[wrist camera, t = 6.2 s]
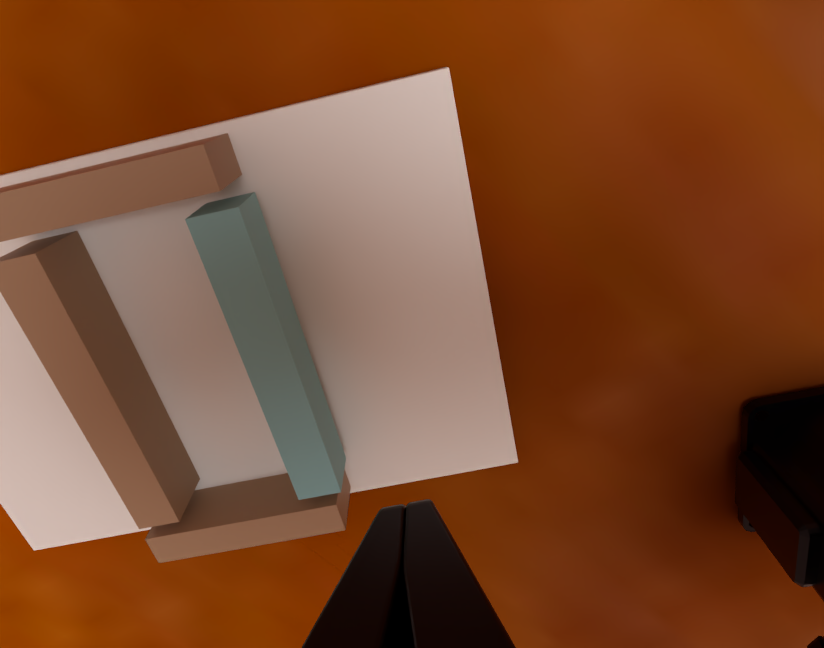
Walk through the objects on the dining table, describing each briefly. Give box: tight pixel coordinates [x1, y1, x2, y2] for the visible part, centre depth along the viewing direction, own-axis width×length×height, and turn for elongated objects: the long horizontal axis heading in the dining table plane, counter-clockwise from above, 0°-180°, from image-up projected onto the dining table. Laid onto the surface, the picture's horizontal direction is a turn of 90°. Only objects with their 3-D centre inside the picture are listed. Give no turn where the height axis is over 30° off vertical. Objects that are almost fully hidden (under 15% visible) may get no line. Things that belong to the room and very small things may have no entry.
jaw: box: [185, 192, 346, 500], centre depth 18 cm, size 2×10×2 cm, turn 13°
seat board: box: [0, 67, 518, 563], centre depth 19 cm, size 20×14×3 cm
